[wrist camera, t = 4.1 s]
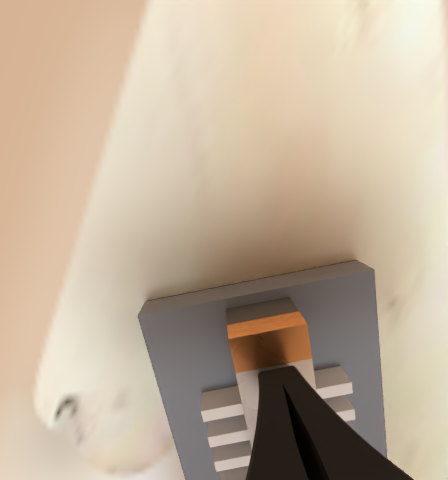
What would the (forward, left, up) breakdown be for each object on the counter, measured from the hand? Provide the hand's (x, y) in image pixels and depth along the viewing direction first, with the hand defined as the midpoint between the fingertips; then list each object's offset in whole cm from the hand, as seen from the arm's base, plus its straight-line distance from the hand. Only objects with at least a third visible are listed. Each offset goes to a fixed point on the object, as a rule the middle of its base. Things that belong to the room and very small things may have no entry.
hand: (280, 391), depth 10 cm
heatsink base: (-4, 0, -5) cm, 6 cm away
